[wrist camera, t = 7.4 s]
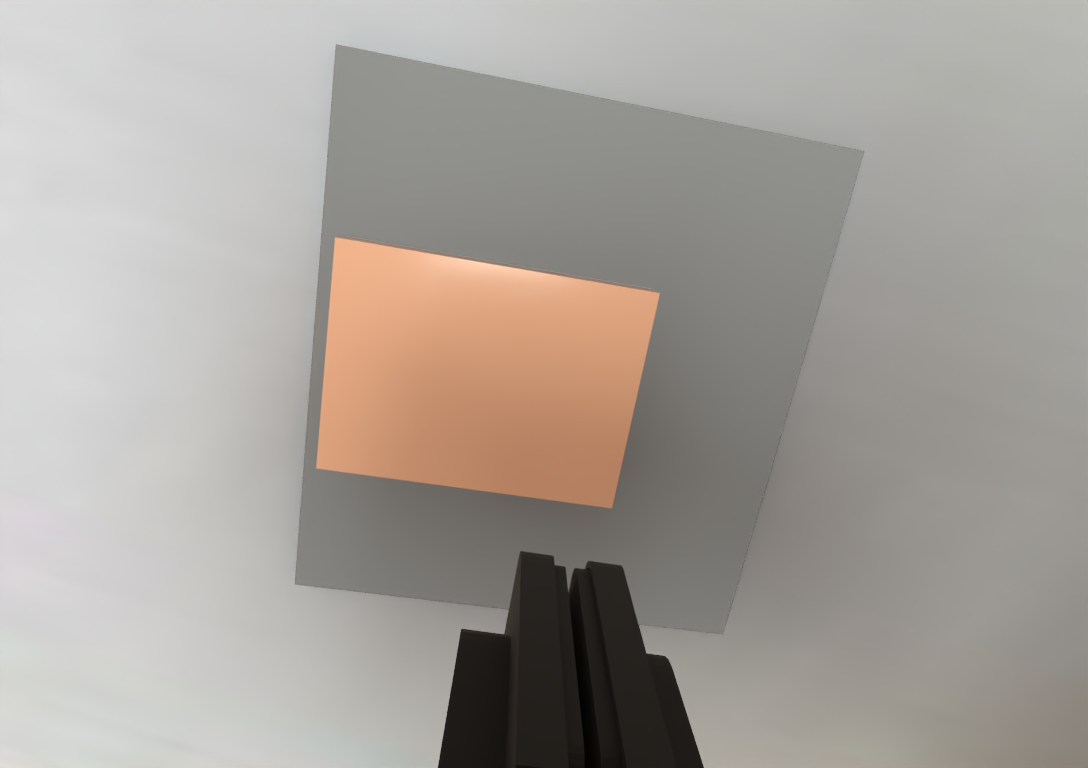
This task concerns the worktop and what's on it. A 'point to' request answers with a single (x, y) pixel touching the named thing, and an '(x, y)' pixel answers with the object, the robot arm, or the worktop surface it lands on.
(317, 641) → the worktop surface
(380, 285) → the tile
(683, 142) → the slate mat
